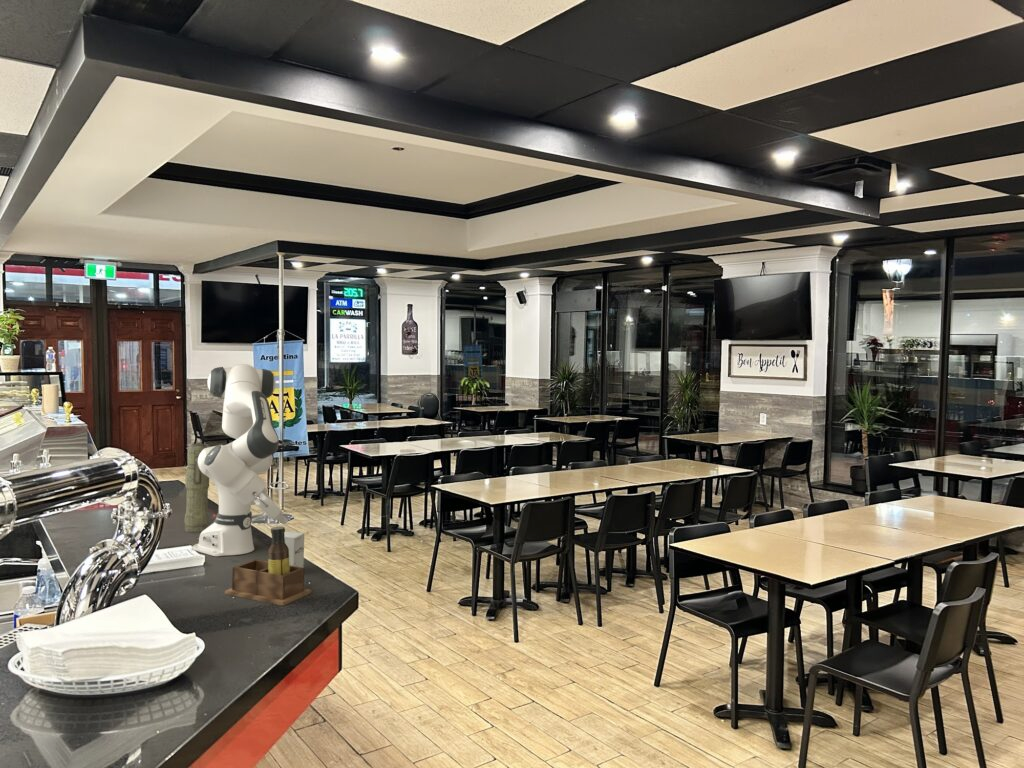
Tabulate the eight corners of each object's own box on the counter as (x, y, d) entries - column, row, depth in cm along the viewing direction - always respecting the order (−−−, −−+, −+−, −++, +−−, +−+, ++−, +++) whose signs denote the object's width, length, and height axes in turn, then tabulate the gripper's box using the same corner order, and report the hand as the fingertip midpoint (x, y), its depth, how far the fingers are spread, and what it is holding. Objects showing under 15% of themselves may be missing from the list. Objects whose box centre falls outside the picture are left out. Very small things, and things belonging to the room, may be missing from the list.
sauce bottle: (287, 587, 228) (287, 524, 228) (292, 593, 223) (292, 528, 222) (266, 590, 225) (266, 526, 225) (270, 596, 220) (270, 530, 219)
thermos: (186, 534, 289) (187, 446, 287) (183, 527, 299) (184, 442, 298) (210, 532, 293) (212, 445, 292) (206, 526, 304) (208, 441, 302)
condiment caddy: (224, 593, 224) (225, 567, 223) (254, 581, 236) (254, 557, 235) (283, 605, 216) (283, 579, 215) (310, 592, 228) (311, 567, 227)
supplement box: (293, 575, 244) (294, 537, 244) (273, 573, 246) (274, 535, 245) (304, 569, 251) (305, 532, 251) (284, 566, 253) (285, 530, 252)
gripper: (265, 488, 210) (298, 519, 215) (253, 476, 228) (285, 505, 233) (248, 505, 208) (282, 536, 213) (238, 491, 226) (270, 520, 231)
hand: (283, 520), depth 223 cm, fingers open, 5 cm apart
